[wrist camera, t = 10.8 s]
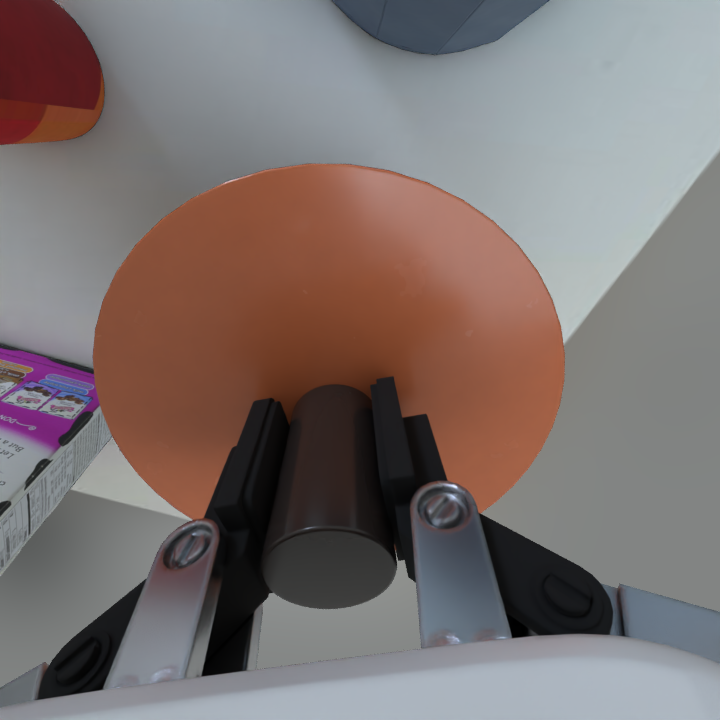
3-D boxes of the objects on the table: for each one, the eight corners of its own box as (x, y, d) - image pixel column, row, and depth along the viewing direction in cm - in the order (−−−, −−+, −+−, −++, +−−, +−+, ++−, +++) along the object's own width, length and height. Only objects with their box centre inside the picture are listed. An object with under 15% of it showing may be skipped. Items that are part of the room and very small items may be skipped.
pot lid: (11, 225, 10) (-402, 310, 4) (564, 105, 9) (903, 22, 3) (215, 553, 17) (153, 741, 11) (536, 504, 16) (635, 683, 10)
